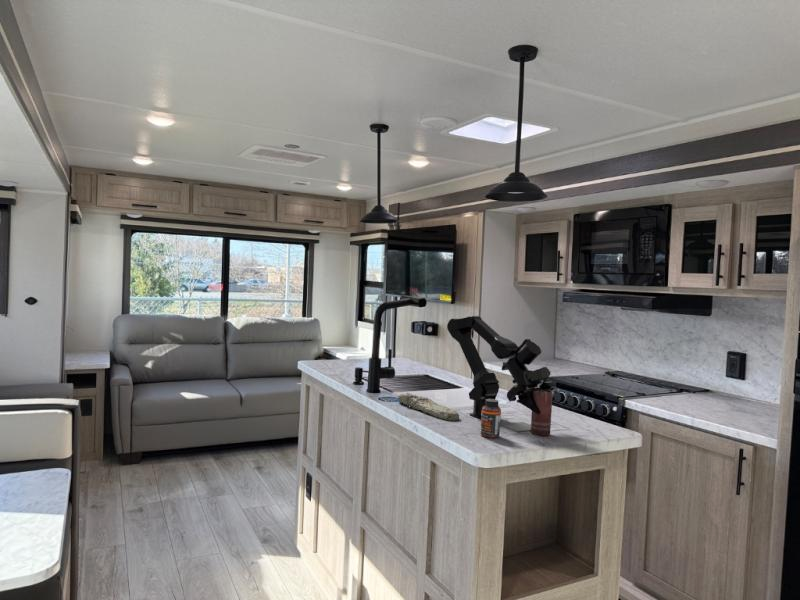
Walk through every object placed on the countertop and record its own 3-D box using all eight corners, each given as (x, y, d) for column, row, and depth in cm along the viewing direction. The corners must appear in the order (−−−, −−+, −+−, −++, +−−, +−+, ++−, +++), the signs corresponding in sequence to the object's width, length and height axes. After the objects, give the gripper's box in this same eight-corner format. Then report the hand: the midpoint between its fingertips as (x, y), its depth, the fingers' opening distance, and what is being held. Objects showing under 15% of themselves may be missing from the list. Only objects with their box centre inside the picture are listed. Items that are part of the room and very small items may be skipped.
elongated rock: (442, 426, 194) (465, 425, 199) (444, 411, 193) (467, 410, 199) (389, 400, 223) (411, 400, 229) (391, 387, 223) (412, 387, 228)
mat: (499, 424, 193) (499, 423, 193) (522, 422, 198) (523, 421, 198) (517, 432, 184) (517, 431, 184) (542, 430, 189) (542, 428, 189)
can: (537, 437, 180) (539, 392, 179) (527, 431, 186) (529, 388, 185) (554, 436, 181) (556, 392, 181) (543, 431, 187) (546, 388, 187)
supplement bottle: (476, 436, 177) (478, 399, 177) (485, 432, 182) (487, 397, 182) (494, 439, 174) (496, 402, 174) (502, 436, 179) (504, 400, 179)
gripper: (515, 359, 180) (541, 401, 172) (553, 357, 192) (579, 396, 183) (495, 380, 187) (520, 421, 178) (533, 377, 198) (557, 415, 190)
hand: (545, 413), depth 182 cm, fingers closed on can, 5 cm apart
